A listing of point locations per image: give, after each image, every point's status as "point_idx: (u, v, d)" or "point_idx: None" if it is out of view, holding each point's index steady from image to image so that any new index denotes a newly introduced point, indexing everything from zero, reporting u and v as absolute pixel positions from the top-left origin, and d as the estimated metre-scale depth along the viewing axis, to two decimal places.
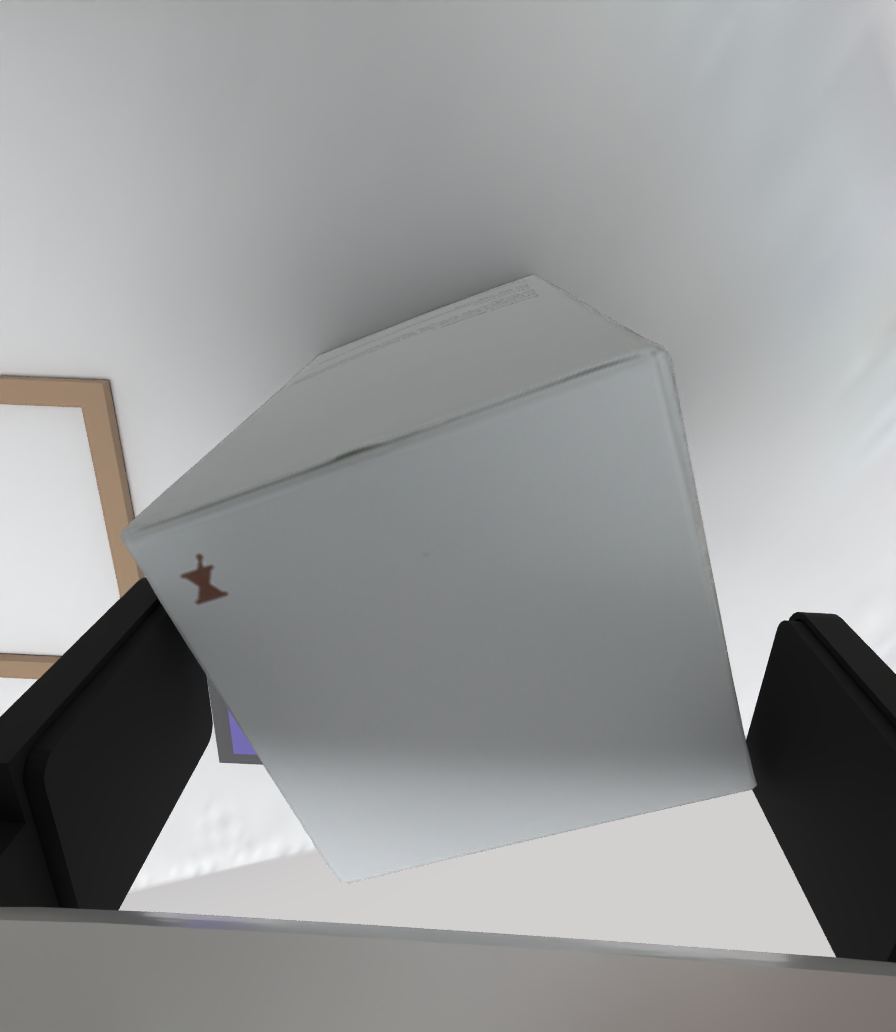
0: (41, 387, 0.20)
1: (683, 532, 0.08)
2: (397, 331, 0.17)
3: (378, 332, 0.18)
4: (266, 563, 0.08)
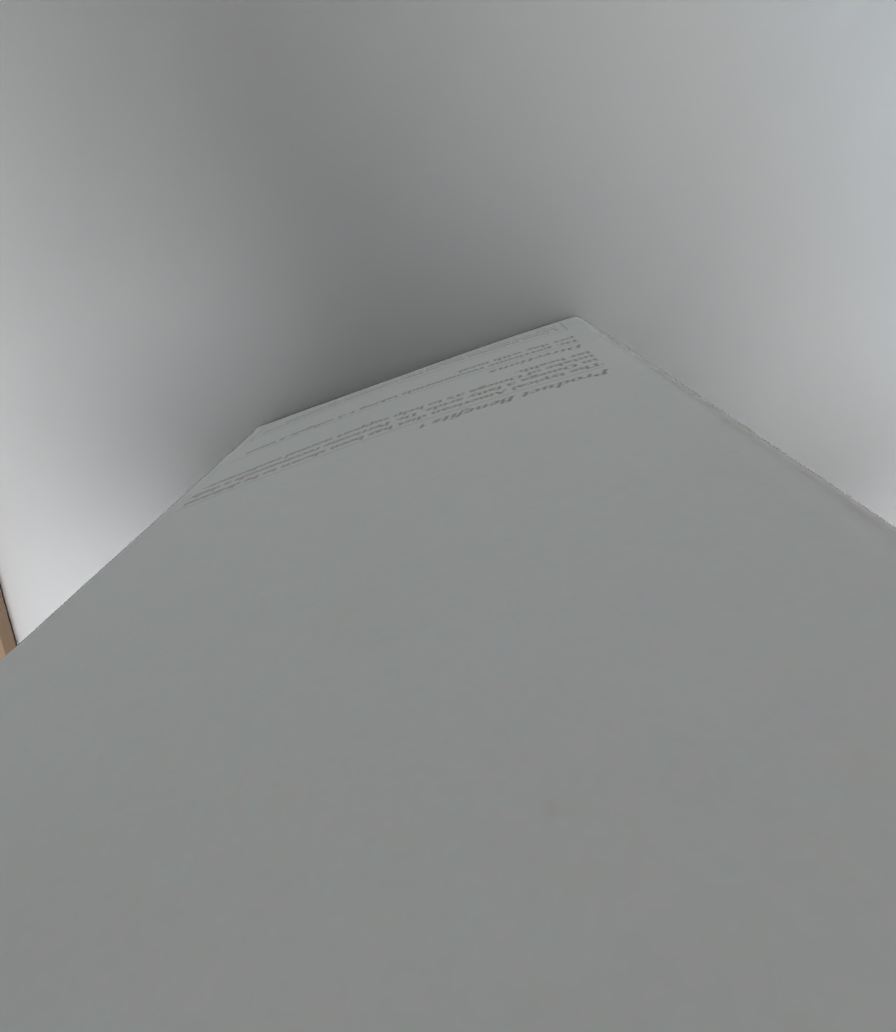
0: None
1: None
2: (367, 407, 0.11)
3: (343, 399, 0.12)
4: None
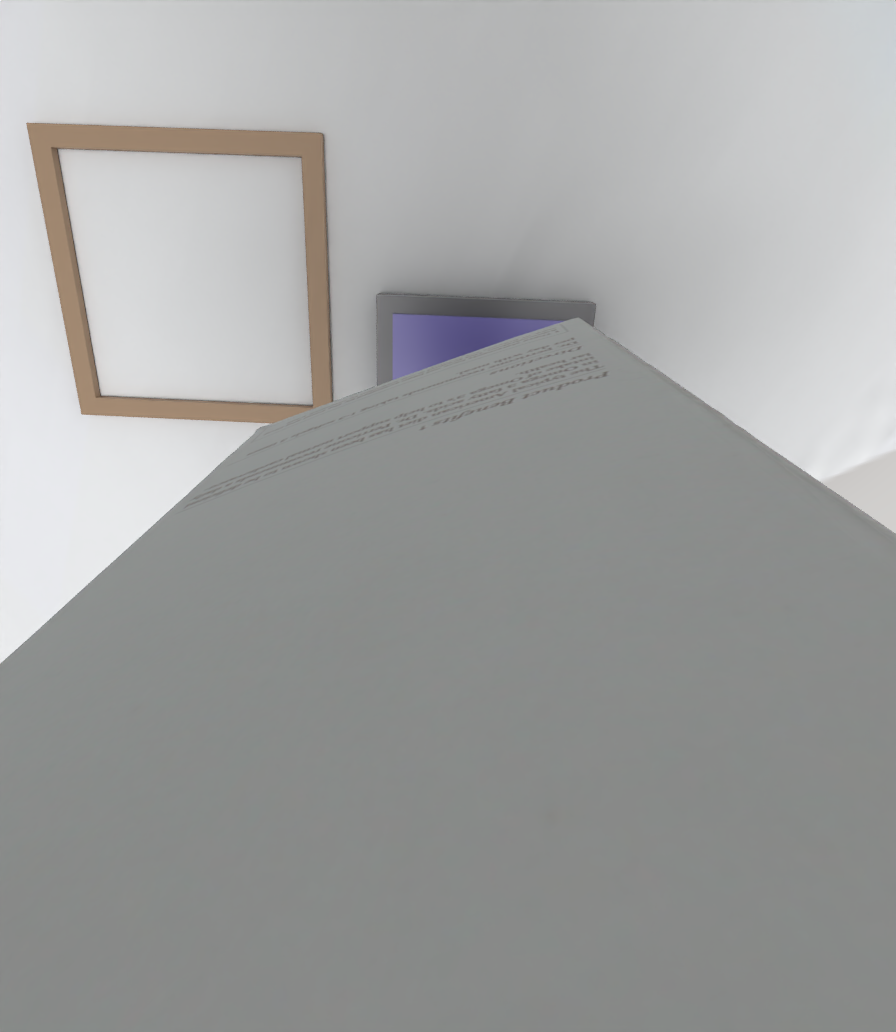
0: (271, 137, 0.25)
1: None
2: (368, 409, 0.11)
3: (344, 400, 0.12)
4: None
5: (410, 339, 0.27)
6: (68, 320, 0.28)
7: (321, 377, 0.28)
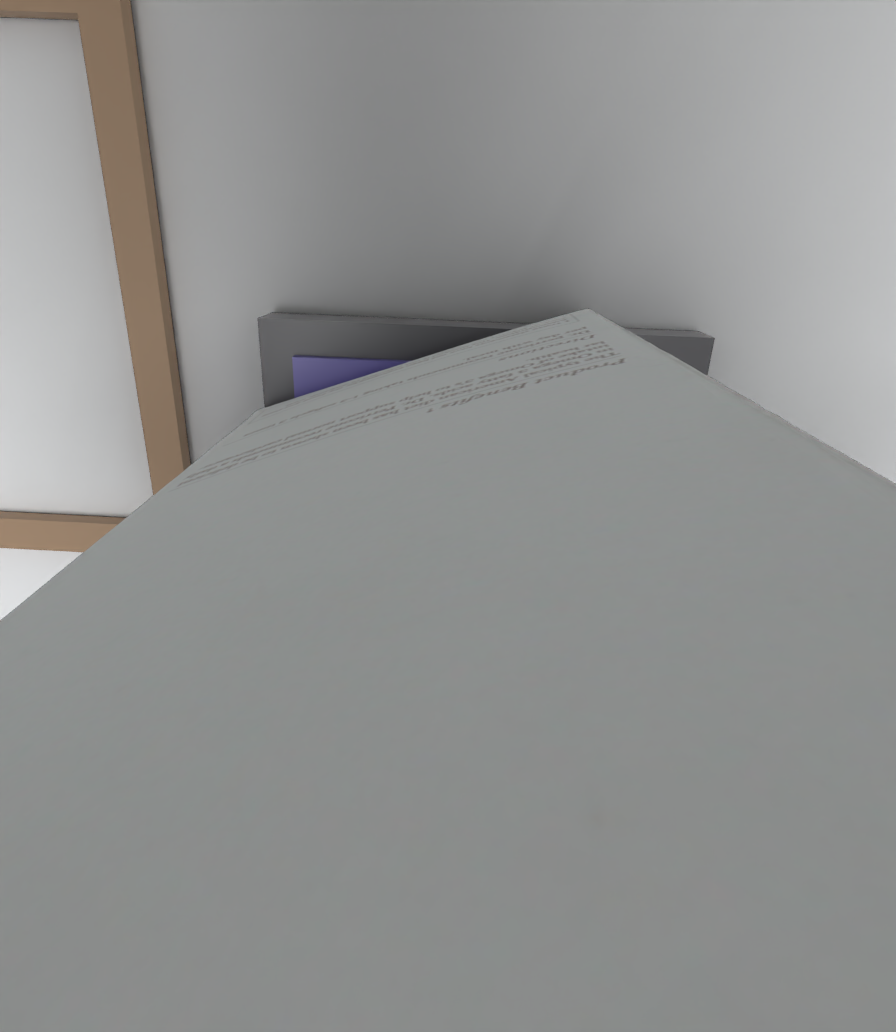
0: None
1: None
2: (371, 392, 0.10)
3: (346, 384, 0.12)
4: None
5: None
6: None
7: (168, 472, 0.15)
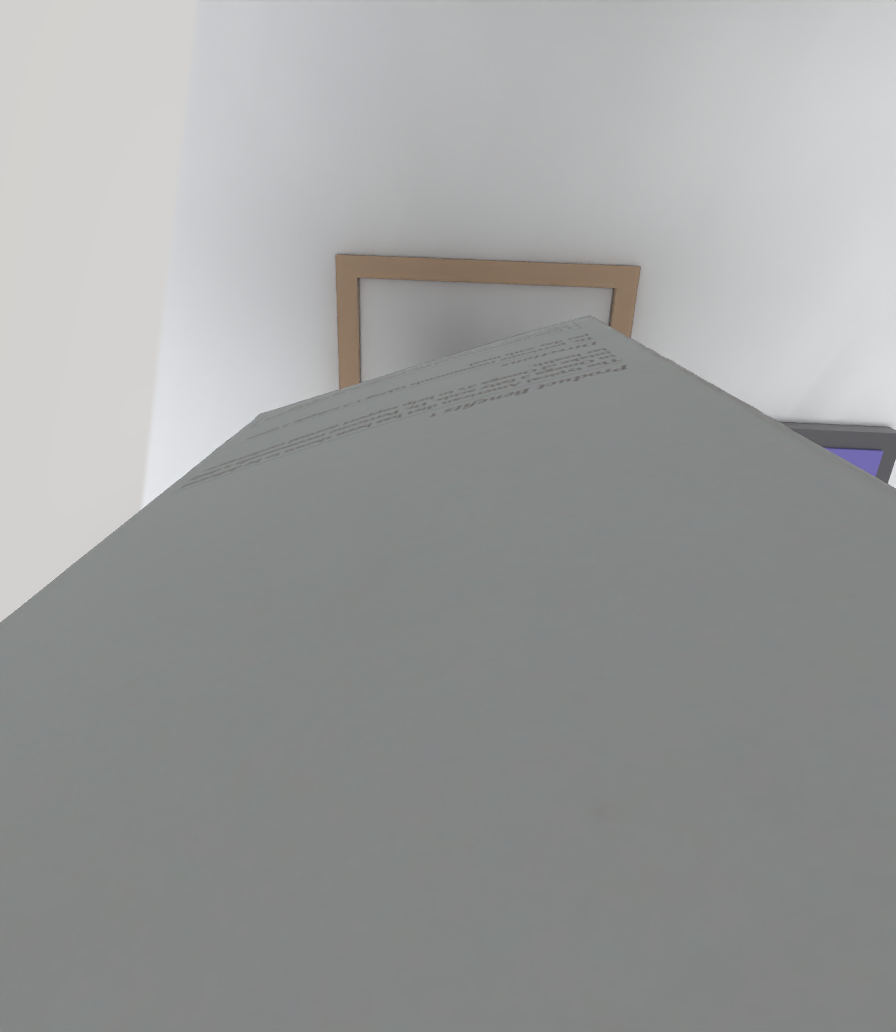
0: (588, 270, 0.24)
1: None
2: (374, 397, 0.10)
3: (349, 389, 0.12)
4: None
5: None
6: None
7: None
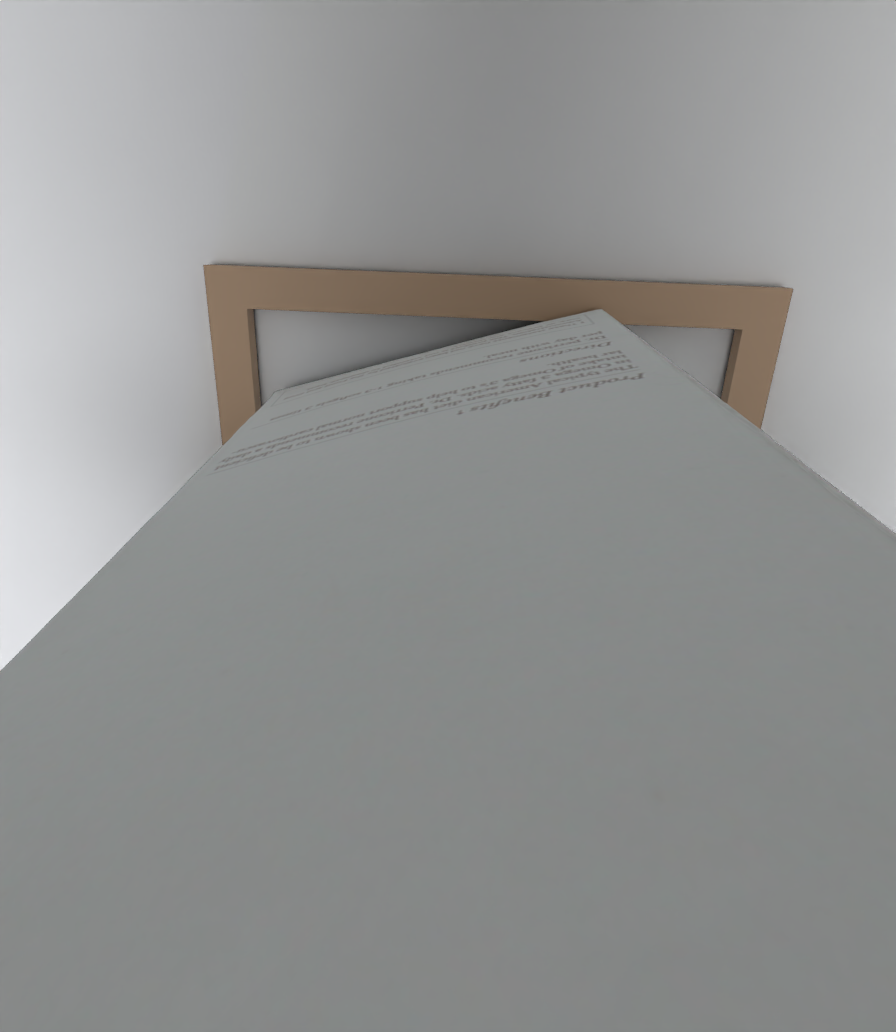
0: (690, 296, 0.13)
1: None
2: (395, 385, 0.11)
3: (366, 372, 0.12)
4: None
5: None
6: None
7: None
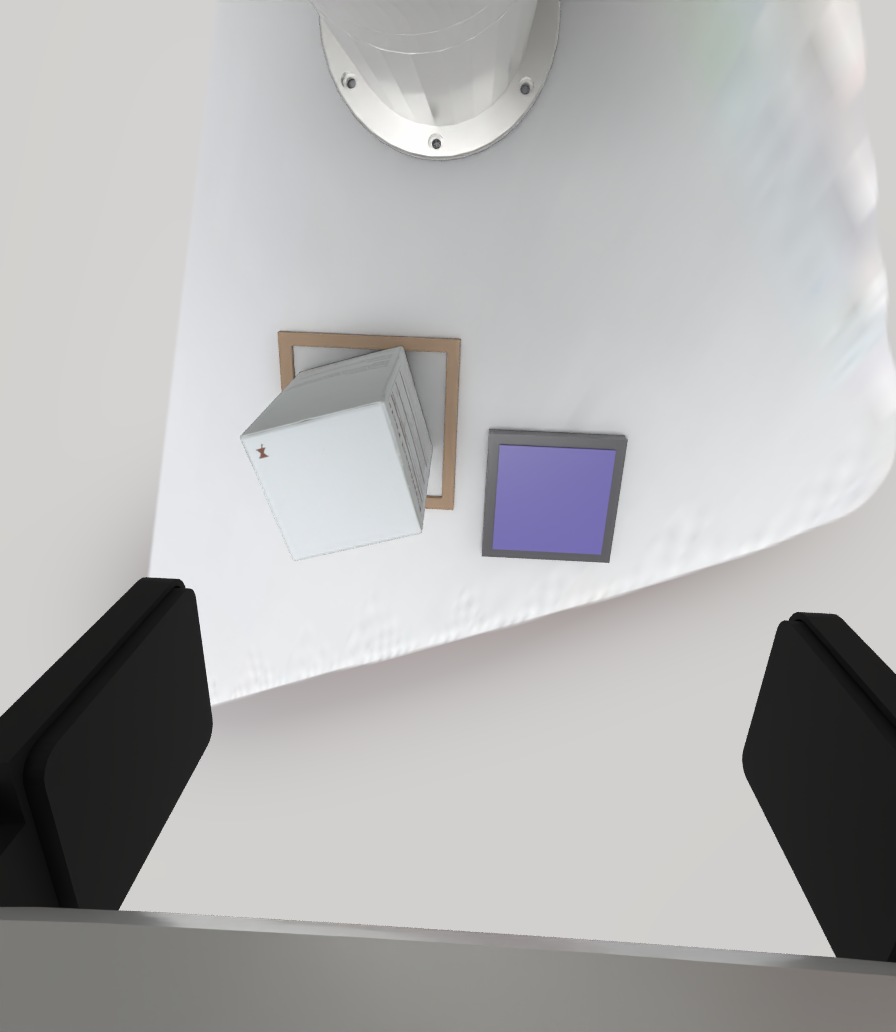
0: (429, 342, 0.40)
1: (392, 449, 0.30)
2: (335, 369, 0.39)
3: (328, 365, 0.40)
4: (280, 448, 0.30)
5: (510, 460, 0.42)
6: None
7: (449, 480, 0.44)
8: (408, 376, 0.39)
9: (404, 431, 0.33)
